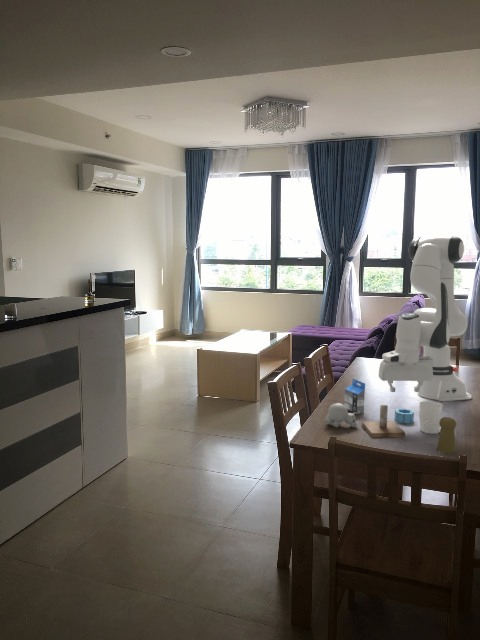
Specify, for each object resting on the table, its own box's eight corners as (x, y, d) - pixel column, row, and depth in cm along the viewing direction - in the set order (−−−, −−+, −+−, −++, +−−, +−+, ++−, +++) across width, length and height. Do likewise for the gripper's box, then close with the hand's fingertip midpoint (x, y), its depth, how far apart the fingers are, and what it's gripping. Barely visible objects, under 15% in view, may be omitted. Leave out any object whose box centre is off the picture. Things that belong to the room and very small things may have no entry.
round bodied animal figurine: (352, 437, 196) (361, 417, 194) (322, 422, 199) (331, 402, 196) (354, 430, 203) (363, 411, 200) (325, 416, 205) (334, 397, 203)
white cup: (414, 427, 199) (416, 401, 198) (435, 426, 200) (436, 400, 198) (423, 434, 191) (425, 407, 190) (444, 434, 192) (446, 407, 191)
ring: (409, 417, 210) (409, 408, 210) (415, 423, 204) (416, 413, 203) (392, 417, 210) (393, 408, 209) (398, 423, 203) (399, 414, 203)
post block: (393, 425, 201) (394, 400, 200) (405, 436, 190) (406, 410, 188) (362, 425, 201) (362, 401, 199) (371, 437, 189) (372, 411, 187)
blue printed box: (343, 408, 222) (344, 379, 220) (351, 407, 223) (352, 378, 222) (356, 414, 214) (357, 384, 212) (364, 413, 215) (365, 383, 213)
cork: (439, 445, 181) (441, 414, 180) (457, 449, 178) (460, 417, 176) (434, 451, 177) (436, 419, 175) (453, 455, 173) (455, 422, 172)
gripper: (430, 354, 207) (427, 389, 209) (378, 354, 205) (376, 389, 207) (437, 358, 200) (434, 394, 202) (383, 357, 199) (381, 393, 201)
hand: (404, 391), depth 205 cm, fingers open, 8 cm apart
